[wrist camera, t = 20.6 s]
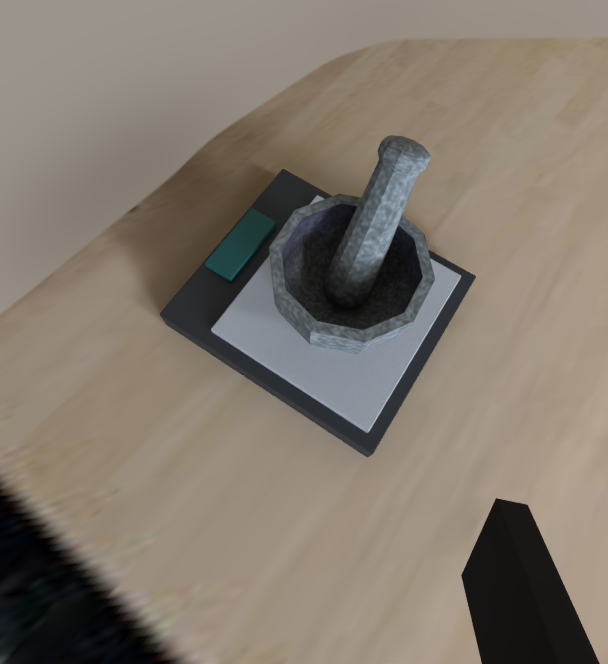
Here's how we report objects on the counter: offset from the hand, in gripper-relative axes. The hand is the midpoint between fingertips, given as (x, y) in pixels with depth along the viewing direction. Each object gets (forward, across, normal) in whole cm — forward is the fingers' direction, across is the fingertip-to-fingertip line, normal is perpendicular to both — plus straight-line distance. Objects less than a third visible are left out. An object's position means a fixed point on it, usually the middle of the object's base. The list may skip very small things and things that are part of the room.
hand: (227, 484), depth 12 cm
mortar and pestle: (+23, +3, -3) cm, 23 cm away
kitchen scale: (+25, +1, -4) cm, 25 cm away
